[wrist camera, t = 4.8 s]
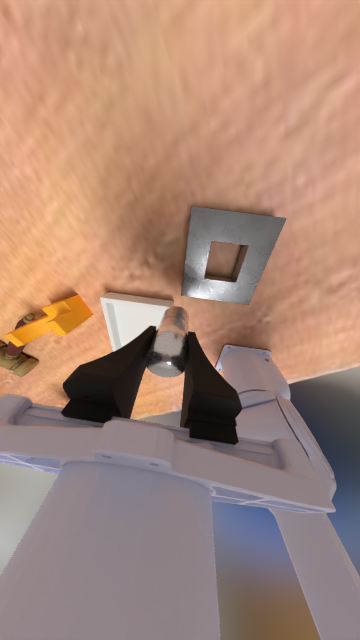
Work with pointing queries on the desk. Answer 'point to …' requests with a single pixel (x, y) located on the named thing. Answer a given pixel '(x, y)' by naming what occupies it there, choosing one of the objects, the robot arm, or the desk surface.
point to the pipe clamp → (53, 321)
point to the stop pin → (169, 344)
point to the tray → (131, 316)
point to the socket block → (234, 229)
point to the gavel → (17, 354)
